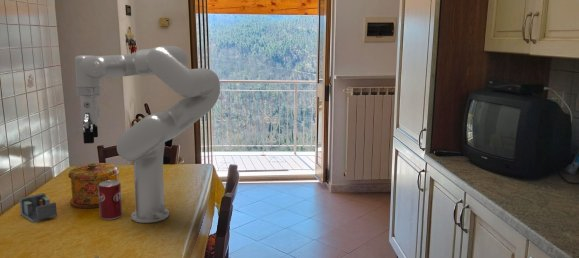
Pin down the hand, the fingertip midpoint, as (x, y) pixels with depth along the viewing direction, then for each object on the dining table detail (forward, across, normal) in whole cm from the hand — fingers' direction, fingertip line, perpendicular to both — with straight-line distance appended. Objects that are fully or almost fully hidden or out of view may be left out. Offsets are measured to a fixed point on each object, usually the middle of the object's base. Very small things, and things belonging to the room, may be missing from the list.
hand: (91, 140), depth 160 cm
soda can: (+26, -9, -6) cm, 28 cm away
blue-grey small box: (+24, -7, +15) cm, 29 cm away
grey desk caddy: (+26, -4, +17) cm, 31 cm away
